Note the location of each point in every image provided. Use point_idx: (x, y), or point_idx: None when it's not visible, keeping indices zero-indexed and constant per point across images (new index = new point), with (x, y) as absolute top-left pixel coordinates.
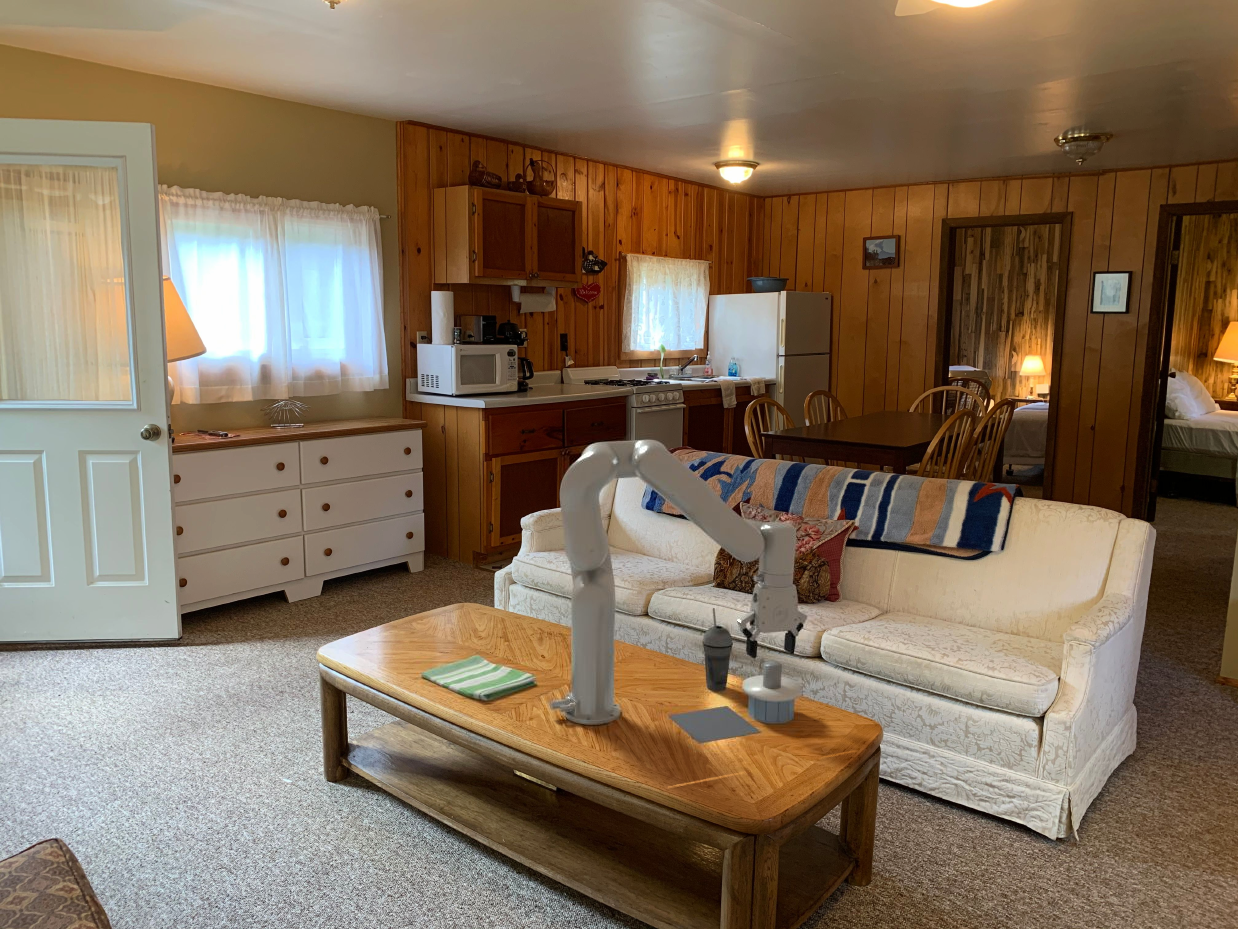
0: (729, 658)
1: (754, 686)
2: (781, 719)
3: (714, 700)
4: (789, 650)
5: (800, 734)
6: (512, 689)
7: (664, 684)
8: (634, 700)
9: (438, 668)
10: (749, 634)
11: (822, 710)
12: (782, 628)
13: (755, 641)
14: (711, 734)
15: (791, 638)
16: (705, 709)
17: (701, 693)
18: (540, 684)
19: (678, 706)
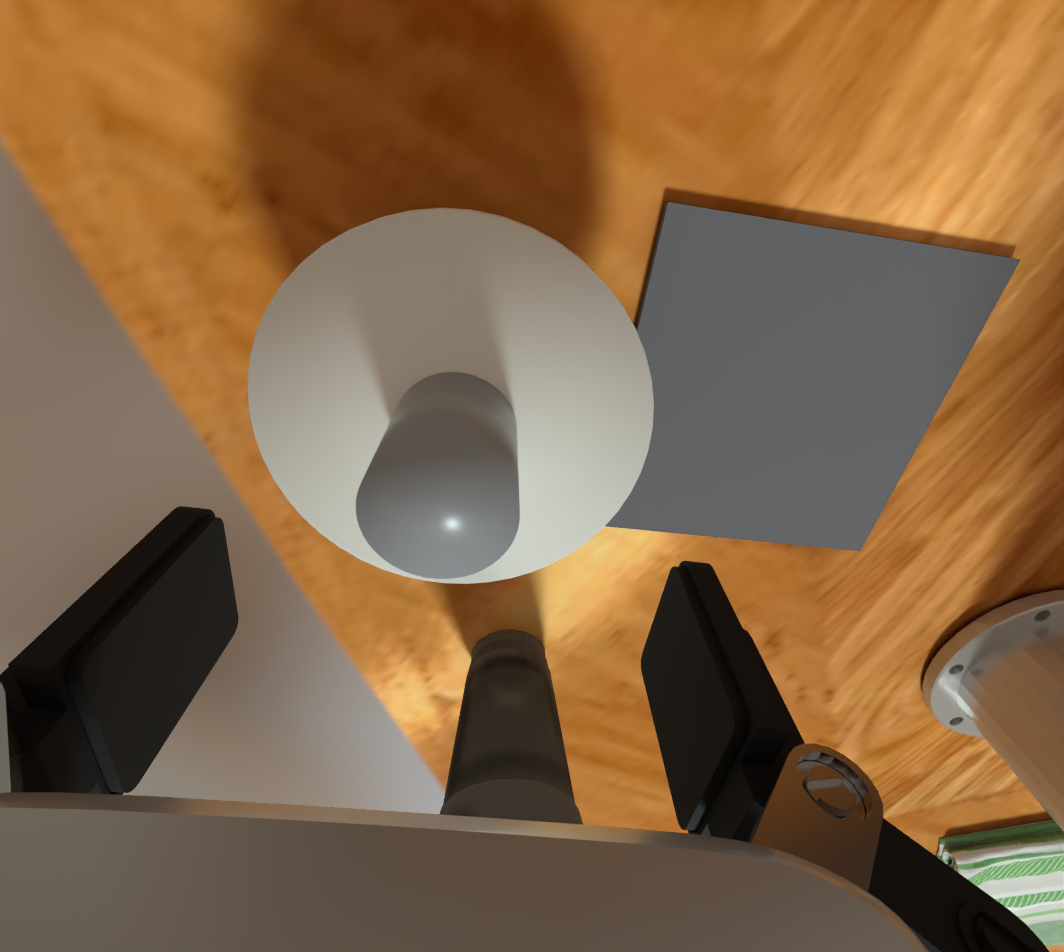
0: (465, 762)
1: (565, 471)
2: None
3: (583, 590)
4: (212, 560)
5: (472, 65)
6: (1036, 832)
7: (641, 740)
8: (823, 687)
9: (1058, 941)
10: (897, 872)
11: (156, 287)
12: (264, 887)
13: (787, 724)
14: (890, 312)
15: (98, 668)
16: (695, 533)
17: (582, 651)
18: (931, 835)
19: (741, 601)
